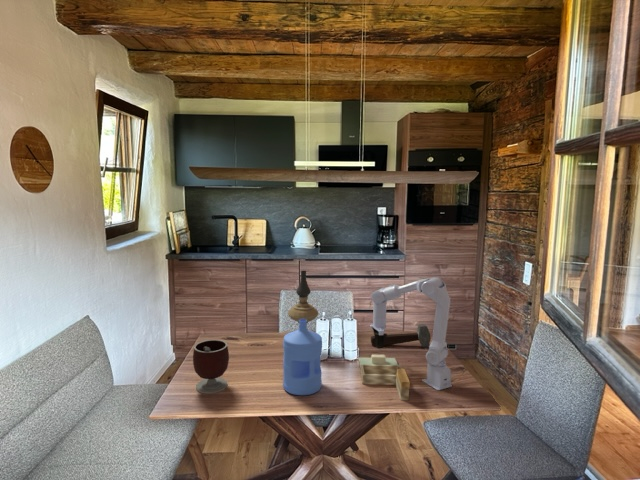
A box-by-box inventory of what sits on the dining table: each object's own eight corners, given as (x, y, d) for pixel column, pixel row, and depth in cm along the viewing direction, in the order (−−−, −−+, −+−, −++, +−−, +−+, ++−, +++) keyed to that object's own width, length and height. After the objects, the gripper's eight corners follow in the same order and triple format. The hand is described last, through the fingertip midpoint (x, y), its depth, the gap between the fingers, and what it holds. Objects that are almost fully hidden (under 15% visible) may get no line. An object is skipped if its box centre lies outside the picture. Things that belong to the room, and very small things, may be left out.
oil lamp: (283, 347, 205) (283, 269, 200) (310, 342, 211) (311, 267, 206) (294, 358, 191) (294, 275, 186) (322, 353, 198) (324, 273, 192)
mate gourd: (199, 377, 171) (198, 332, 169) (232, 378, 171) (231, 332, 169) (187, 396, 156) (186, 346, 153) (223, 397, 156) (222, 347, 153)
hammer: (372, 354, 207) (431, 347, 207) (370, 333, 206) (429, 326, 205) (371, 350, 212) (428, 343, 211) (369, 329, 210) (427, 323, 210)
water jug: (275, 384, 166) (275, 318, 163) (306, 374, 176) (307, 311, 172) (297, 400, 154) (297, 329, 150) (329, 388, 164) (330, 321, 160)
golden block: (404, 374, 165) (404, 369, 165) (409, 388, 154) (409, 382, 154) (396, 374, 165) (396, 368, 165) (401, 388, 154) (401, 381, 154)
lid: (394, 361, 190) (395, 351, 190) (398, 371, 181) (399, 360, 180) (358, 361, 190) (358, 351, 190) (360, 371, 180) (360, 360, 180)
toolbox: (399, 374, 177) (400, 362, 177) (409, 400, 155) (410, 387, 155) (360, 373, 178) (361, 361, 177) (365, 399, 156) (365, 386, 155)
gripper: (369, 310, 190) (368, 338, 191) (372, 321, 175) (371, 351, 177) (384, 311, 189) (383, 339, 191) (388, 321, 175) (387, 351, 177)
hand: (378, 344), depth 184 cm, fingers open, 7 cm apart
